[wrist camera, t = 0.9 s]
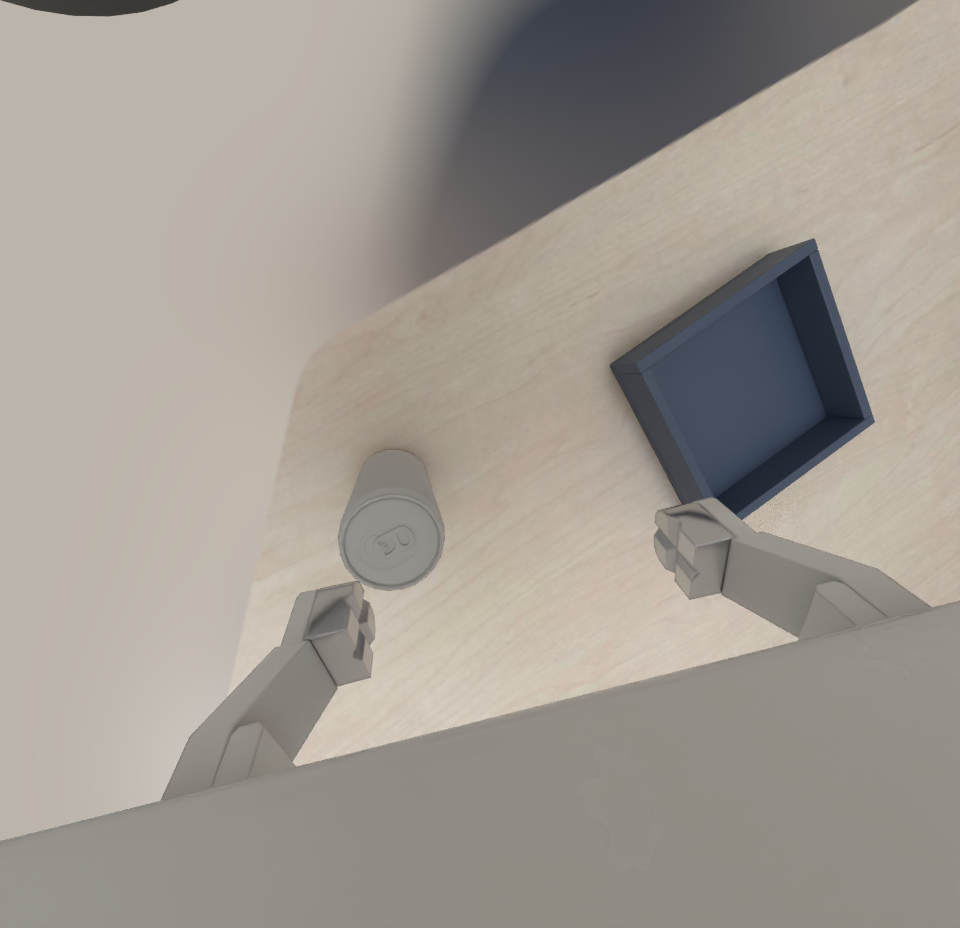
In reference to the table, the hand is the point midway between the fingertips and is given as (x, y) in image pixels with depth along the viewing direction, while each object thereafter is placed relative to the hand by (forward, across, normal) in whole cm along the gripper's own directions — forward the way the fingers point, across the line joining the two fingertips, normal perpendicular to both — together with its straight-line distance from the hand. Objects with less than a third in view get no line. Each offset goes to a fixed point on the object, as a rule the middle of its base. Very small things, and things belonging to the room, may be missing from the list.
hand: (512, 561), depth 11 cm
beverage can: (+18, +6, +7) cm, 20 cm away
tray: (+21, -22, +7) cm, 31 cm away
